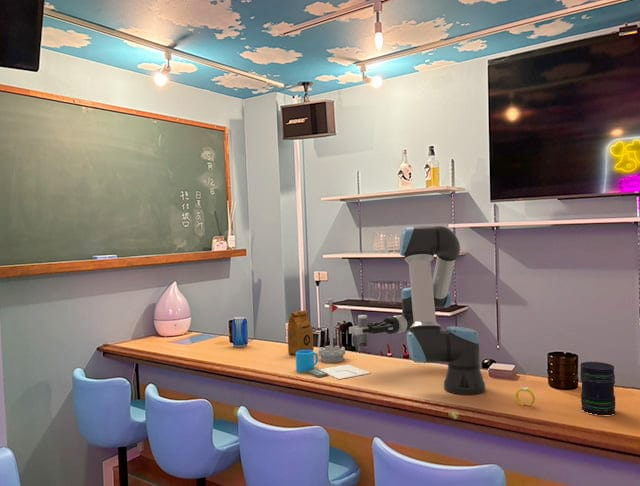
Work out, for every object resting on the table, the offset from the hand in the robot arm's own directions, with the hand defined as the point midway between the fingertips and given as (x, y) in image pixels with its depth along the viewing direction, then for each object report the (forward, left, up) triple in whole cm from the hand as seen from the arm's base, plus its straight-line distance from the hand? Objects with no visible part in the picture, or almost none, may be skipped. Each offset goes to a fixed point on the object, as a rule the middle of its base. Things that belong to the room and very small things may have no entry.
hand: (352, 331), depth 217 cm
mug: (+21, +11, -19) cm, 31 cm away
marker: (0, -5, -7) cm, 9 cm away
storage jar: (-83, -40, -19) cm, 94 cm away
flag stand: (+30, -7, -19) cm, 37 cm away
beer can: (+88, +18, -19) cm, 92 cm away
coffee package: (+51, -1, -19) cm, 55 cm away
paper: (+7, +1, -19) cm, 20 cm away
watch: (-66, -26, -19) cm, 73 cm away
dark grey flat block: (+11, +12, -19) cm, 25 cm away
